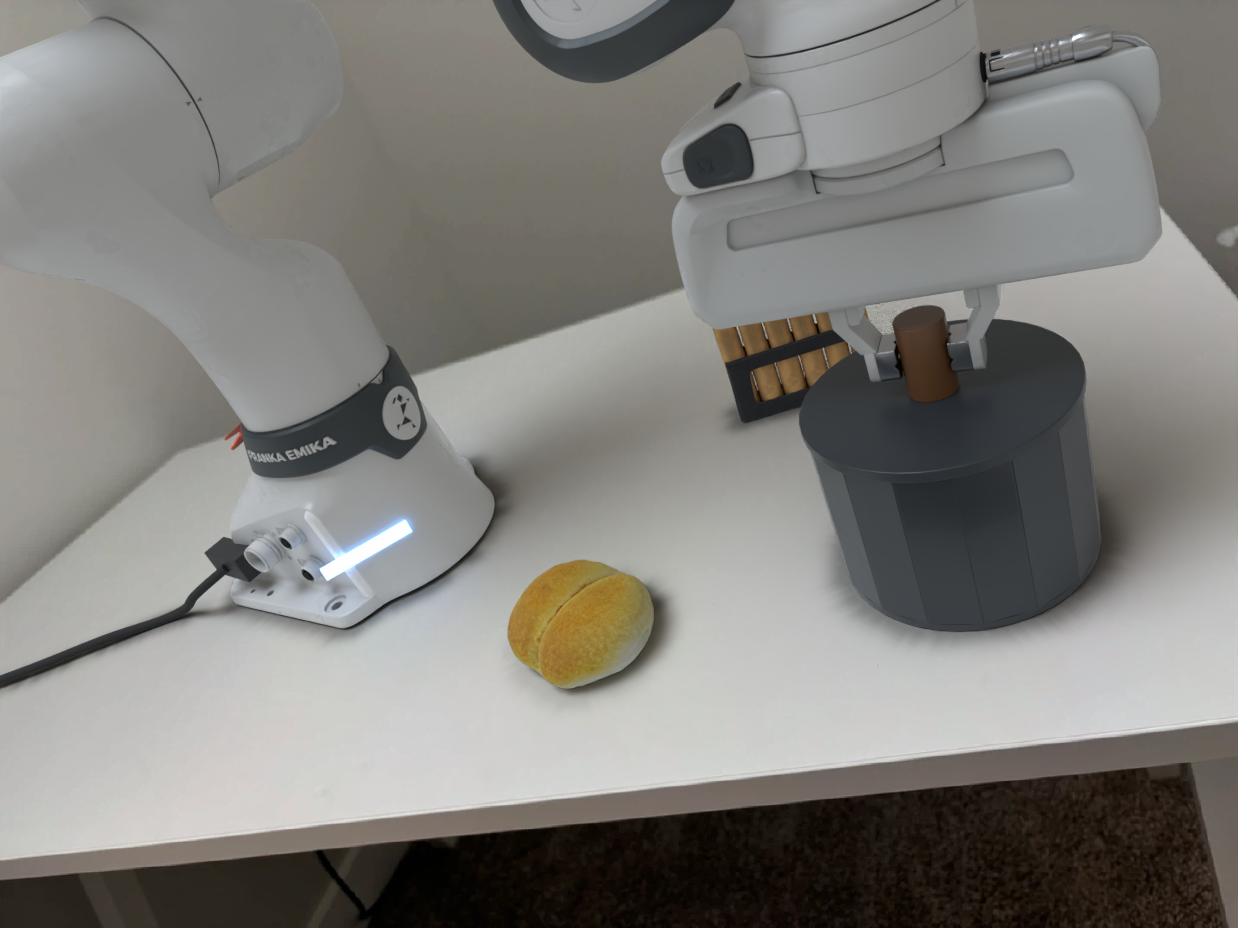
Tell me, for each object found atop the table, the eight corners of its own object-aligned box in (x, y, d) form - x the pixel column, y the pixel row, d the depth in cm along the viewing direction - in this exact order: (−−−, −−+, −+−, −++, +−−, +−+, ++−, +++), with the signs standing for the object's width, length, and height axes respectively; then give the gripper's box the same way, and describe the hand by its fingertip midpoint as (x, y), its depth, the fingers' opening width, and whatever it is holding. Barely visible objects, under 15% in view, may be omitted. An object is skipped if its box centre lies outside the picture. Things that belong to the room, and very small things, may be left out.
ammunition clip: (741, 423, 70) (691, 278, 64) (739, 411, 71) (690, 267, 65) (886, 380, 68) (848, 225, 62) (881, 368, 69) (843, 216, 63)
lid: (779, 503, 45) (749, 414, 43) (829, 356, 55) (806, 276, 52) (1091, 482, 39) (1078, 376, 36) (1085, 321, 49) (1074, 228, 46)
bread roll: (586, 715, 51) (558, 664, 49) (500, 654, 58) (472, 607, 56) (690, 617, 55) (668, 566, 53) (597, 570, 61) (574, 523, 59)
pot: (828, 631, 50) (781, 490, 45) (865, 479, 59) (829, 349, 55) (1105, 632, 44) (1084, 468, 39) (1097, 461, 53) (1080, 313, 48)
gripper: (1151, -15, 36) (1171, 303, 43) (669, 120, 46) (748, 362, 53) (1165, 31, 32) (1184, 378, 39) (626, 170, 41) (719, 428, 48)
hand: (928, 369), depth 46 cm, fingers closed on lid, 2 cm apart
